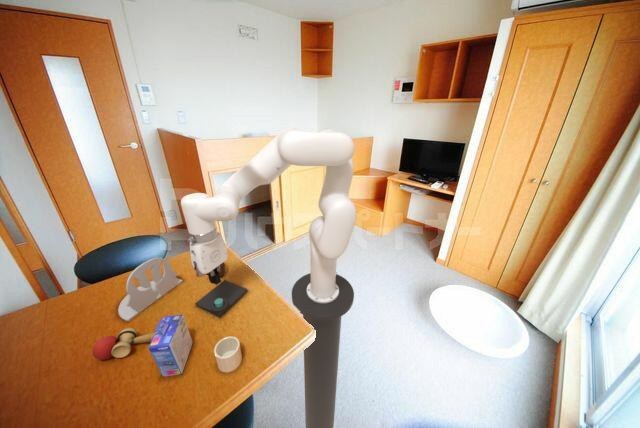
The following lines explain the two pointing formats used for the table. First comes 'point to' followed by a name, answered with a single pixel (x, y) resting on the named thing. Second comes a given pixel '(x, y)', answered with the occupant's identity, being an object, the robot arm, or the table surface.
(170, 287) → the ornament
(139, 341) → the kendama
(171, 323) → the ink cartridge box
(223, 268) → the wooden figurine
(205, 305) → the scale
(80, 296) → the table surface
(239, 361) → the beige cup
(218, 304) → the button
